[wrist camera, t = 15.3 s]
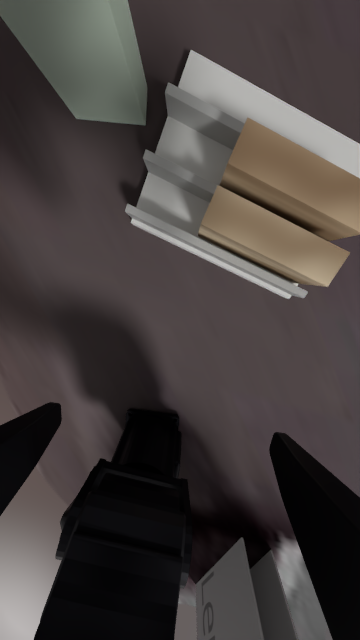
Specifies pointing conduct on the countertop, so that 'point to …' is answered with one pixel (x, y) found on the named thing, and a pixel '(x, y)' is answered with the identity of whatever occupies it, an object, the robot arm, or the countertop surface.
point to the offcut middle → (293, 183)
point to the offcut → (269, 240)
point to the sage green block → (84, 54)
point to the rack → (220, 159)
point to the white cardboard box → (243, 600)
